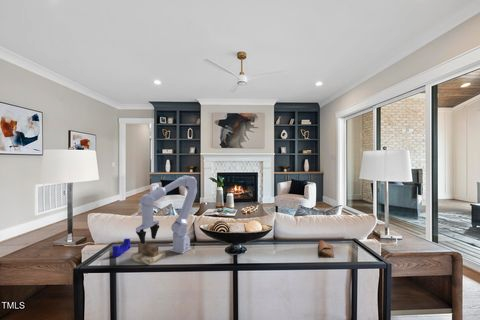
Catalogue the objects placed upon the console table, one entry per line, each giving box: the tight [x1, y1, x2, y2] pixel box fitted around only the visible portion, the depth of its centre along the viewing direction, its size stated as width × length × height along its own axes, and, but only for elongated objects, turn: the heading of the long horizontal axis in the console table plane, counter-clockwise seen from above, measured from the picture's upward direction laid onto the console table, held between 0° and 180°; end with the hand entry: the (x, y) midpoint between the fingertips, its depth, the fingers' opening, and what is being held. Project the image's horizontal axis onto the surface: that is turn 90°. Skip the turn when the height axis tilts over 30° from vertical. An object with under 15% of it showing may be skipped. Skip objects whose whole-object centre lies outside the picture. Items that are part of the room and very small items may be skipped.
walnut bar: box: [137, 242, 159, 257], centre depth 132 cm, size 12×3×5 cm, turn 64°
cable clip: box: [112, 238, 131, 258], centre depth 140 cm, size 12×4×6 cm, turn 173°
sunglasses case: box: [318, 239, 335, 259], centre depth 141 cm, size 18×7×7 cm, turn 163°
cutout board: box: [130, 249, 167, 266], centre depth 132 cm, size 14×11×2 cm
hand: (148, 240), depth 133 cm, fingers open, 7 cm apart
